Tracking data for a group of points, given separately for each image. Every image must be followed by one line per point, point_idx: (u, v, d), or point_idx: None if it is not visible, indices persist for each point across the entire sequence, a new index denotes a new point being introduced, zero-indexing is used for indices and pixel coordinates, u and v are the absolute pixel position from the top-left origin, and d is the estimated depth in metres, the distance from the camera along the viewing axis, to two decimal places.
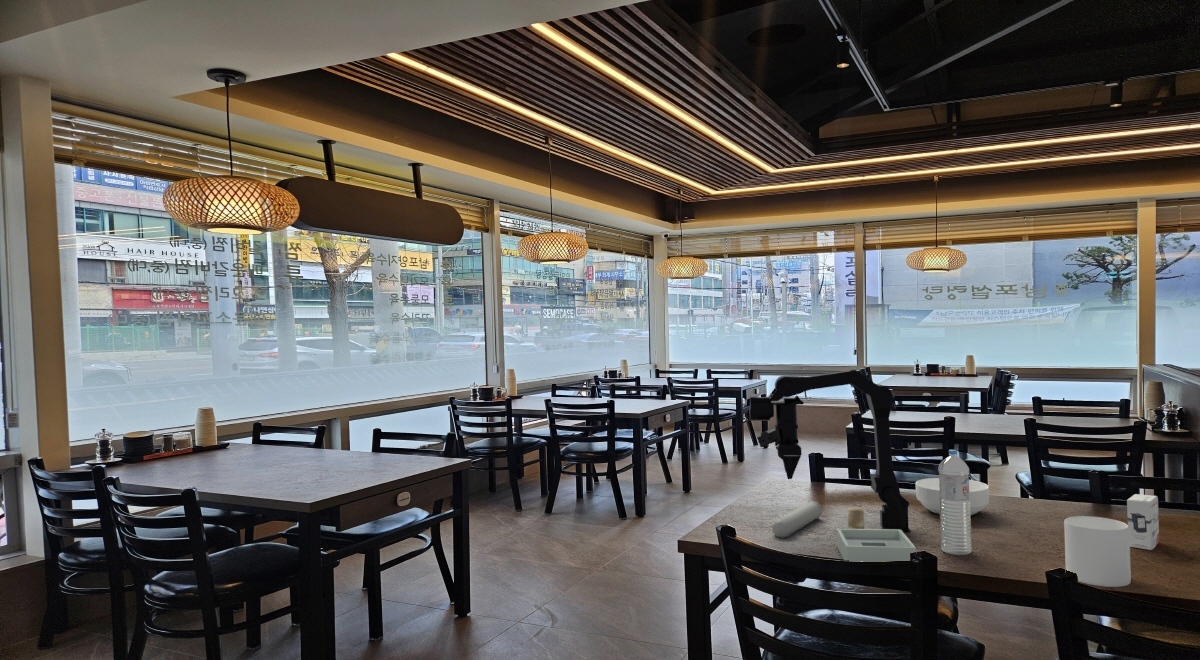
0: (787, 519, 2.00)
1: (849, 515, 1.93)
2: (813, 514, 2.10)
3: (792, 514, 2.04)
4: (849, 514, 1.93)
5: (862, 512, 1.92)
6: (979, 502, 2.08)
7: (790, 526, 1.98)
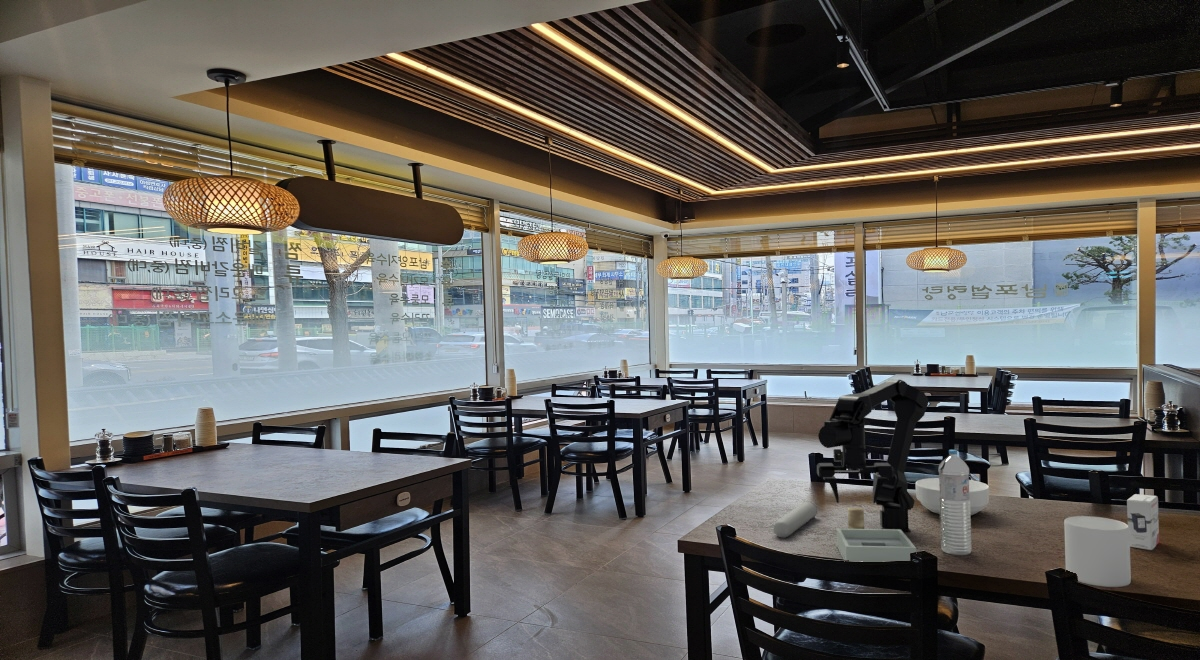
0: (788, 519, 2.00)
1: (849, 515, 1.93)
2: (810, 513, 2.11)
3: (791, 514, 2.04)
4: (849, 514, 1.93)
5: (862, 512, 1.92)
6: (979, 502, 2.08)
7: (791, 526, 1.98)
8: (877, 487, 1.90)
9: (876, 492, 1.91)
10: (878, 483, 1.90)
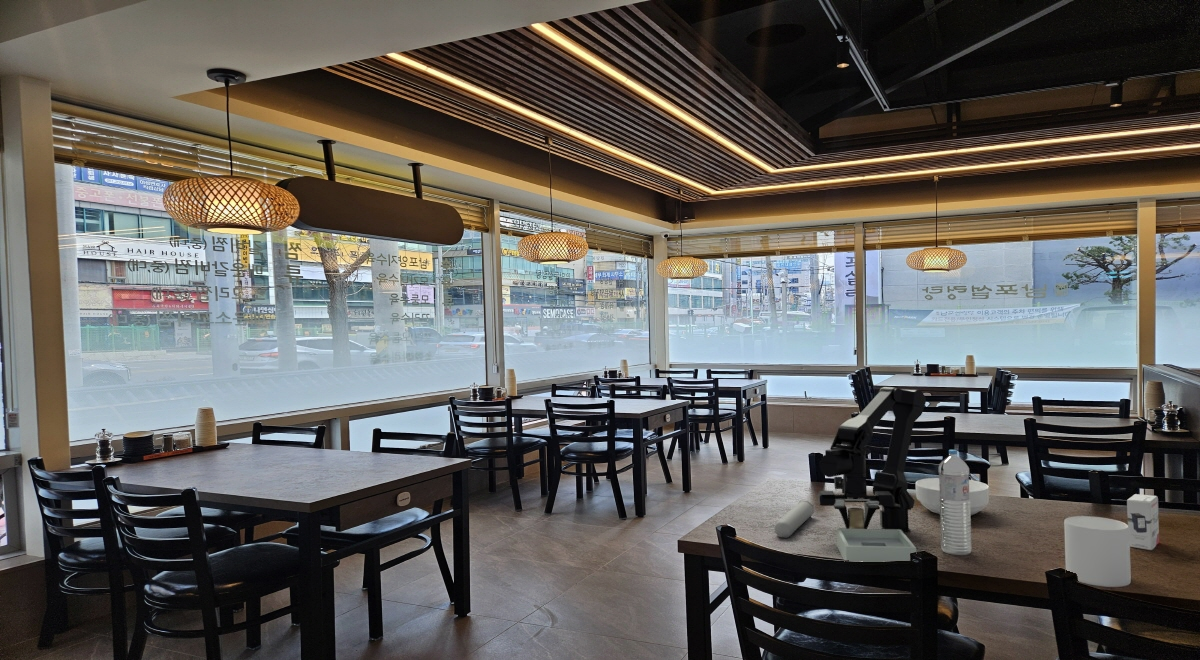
0: (788, 519, 2.00)
1: (849, 515, 1.93)
2: (807, 513, 2.12)
3: (791, 514, 2.04)
4: (849, 514, 1.93)
5: (862, 512, 1.92)
6: (979, 502, 2.08)
7: (792, 526, 1.98)
8: (868, 516, 1.91)
9: (867, 521, 1.91)
10: (869, 512, 1.90)
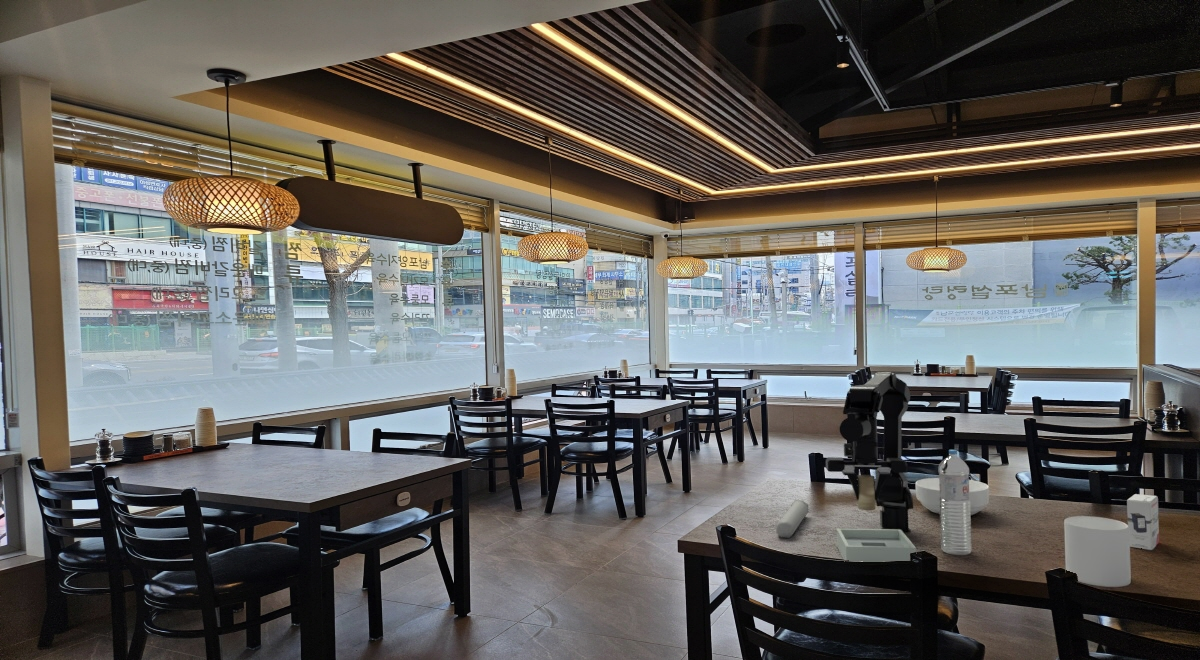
0: (789, 519, 2.00)
1: (859, 482, 1.83)
2: (804, 512, 2.12)
3: (790, 514, 2.05)
4: (859, 481, 1.83)
5: (873, 479, 1.82)
6: (979, 502, 2.08)
7: (794, 526, 1.98)
8: (879, 483, 1.80)
9: (878, 488, 1.81)
10: (880, 479, 1.80)
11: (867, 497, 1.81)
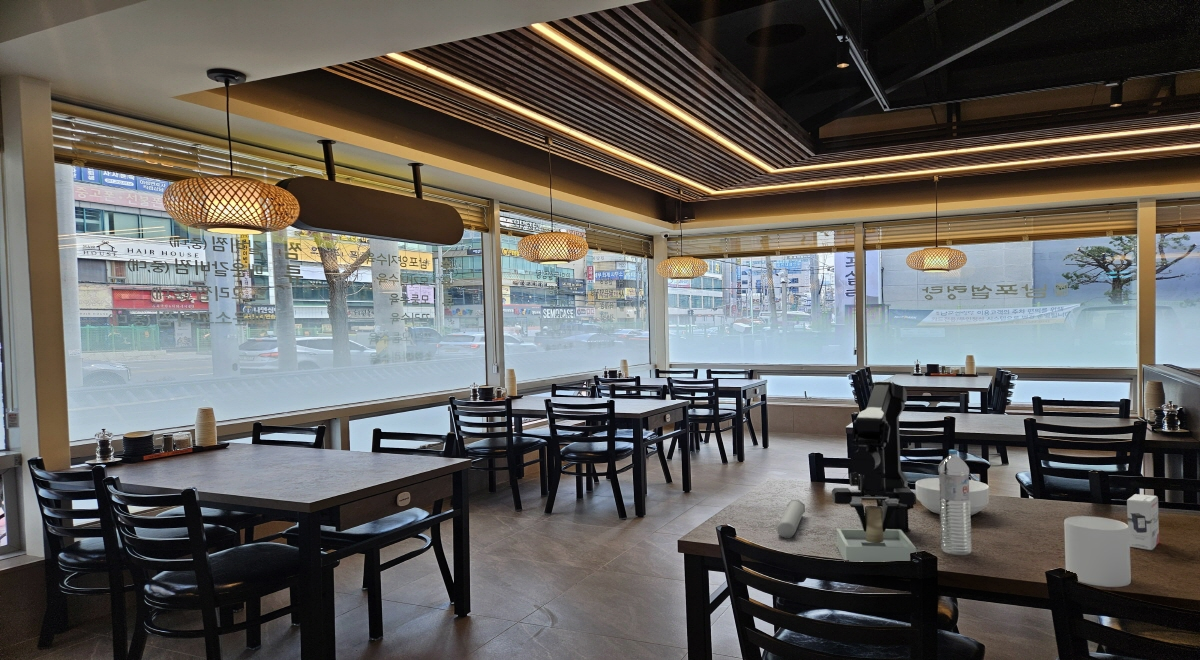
0: (790, 519, 2.00)
1: (866, 514, 1.79)
2: (801, 512, 2.13)
3: (790, 514, 2.05)
4: (866, 513, 1.79)
5: (880, 511, 1.78)
6: (979, 502, 2.08)
7: (795, 526, 1.98)
8: (887, 515, 1.77)
9: (886, 520, 1.77)
10: (888, 511, 1.76)
11: (875, 529, 1.77)
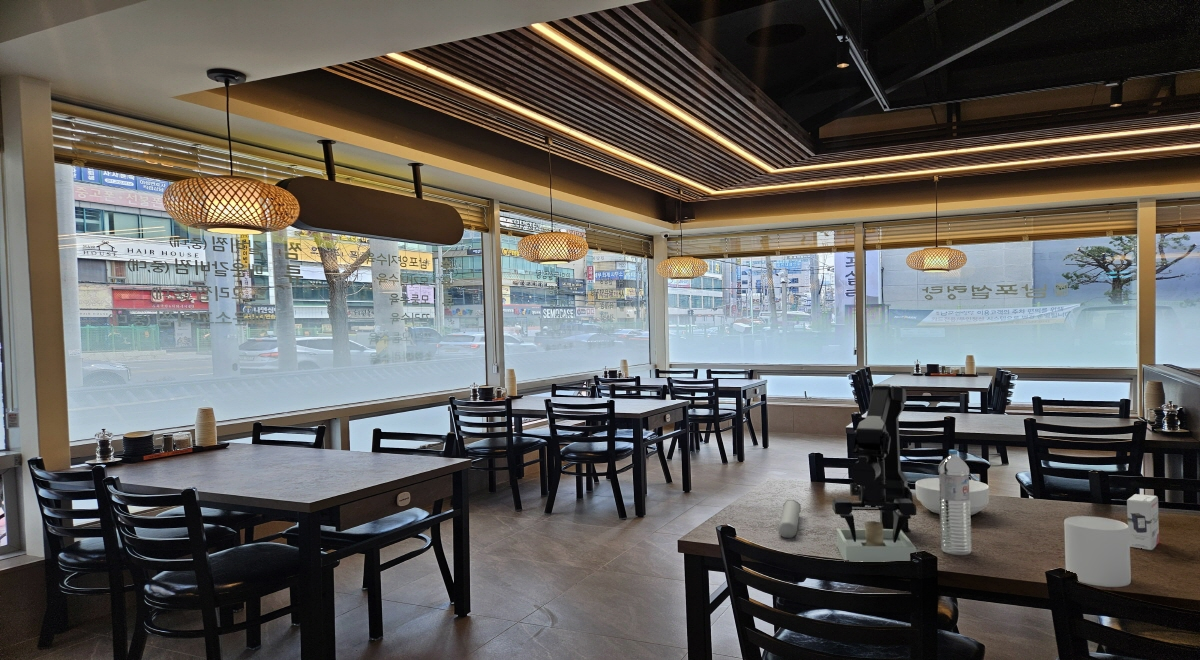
0: (791, 519, 2.00)
1: (867, 530, 1.79)
2: None
3: (789, 514, 2.05)
4: (867, 529, 1.79)
5: (881, 527, 1.78)
6: (979, 502, 2.08)
7: (796, 526, 1.98)
8: (898, 526, 1.76)
9: (897, 531, 1.77)
10: (899, 521, 1.76)
11: None
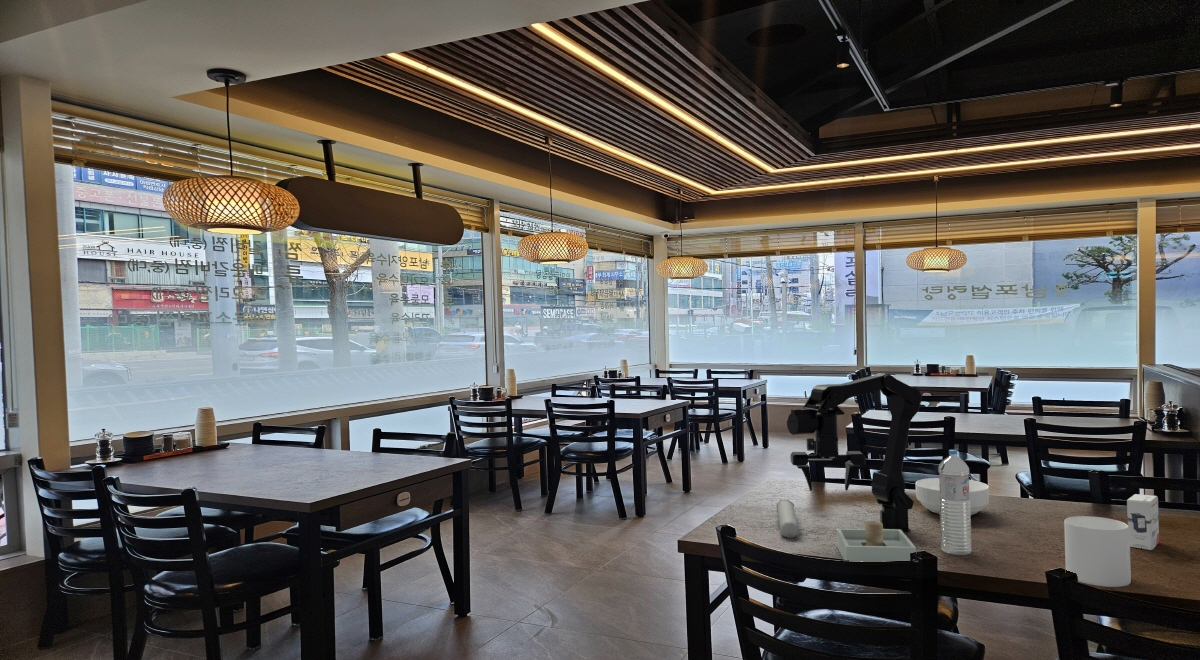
0: (792, 519, 2.00)
1: (867, 530, 1.79)
2: None
3: (788, 513, 2.05)
4: (867, 529, 1.79)
5: (881, 527, 1.78)
6: (979, 502, 2.08)
7: (797, 525, 1.98)
8: (849, 475, 1.94)
9: (848, 480, 1.94)
10: (850, 471, 1.93)
11: None
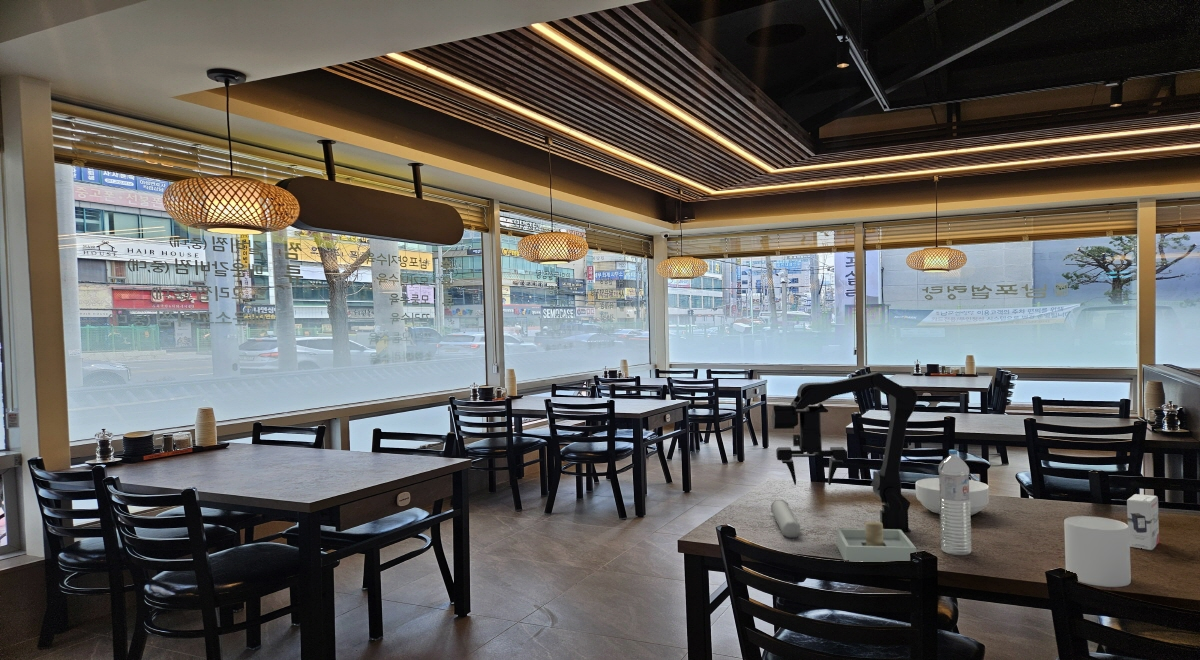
0: (793, 519, 2.00)
1: (867, 530, 1.79)
2: None
3: (788, 513, 2.05)
4: (867, 529, 1.79)
5: (881, 527, 1.78)
6: (979, 502, 2.08)
7: None
8: (832, 470, 2.01)
9: (831, 474, 2.02)
10: (833, 466, 2.01)
11: None
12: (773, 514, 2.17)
